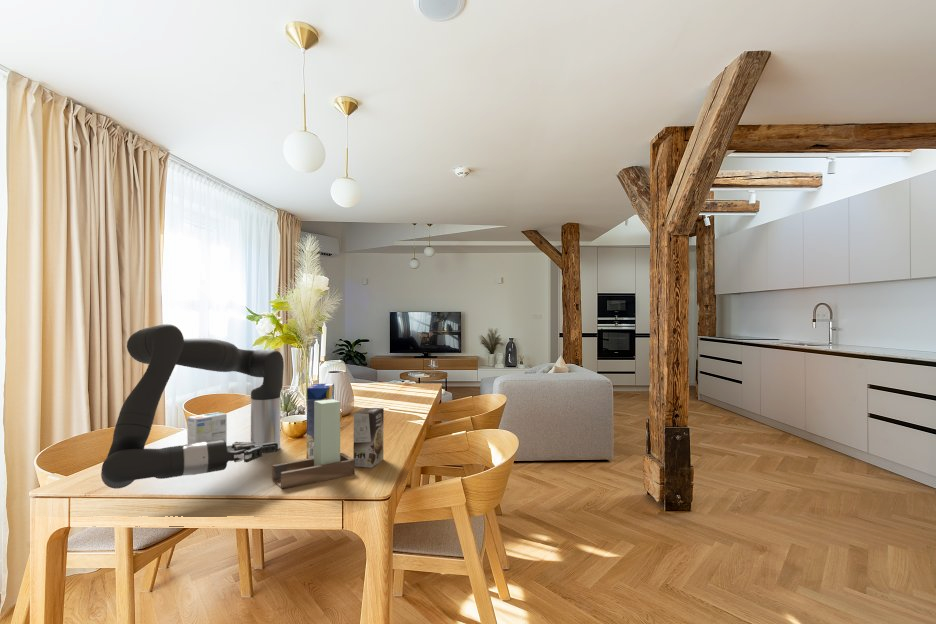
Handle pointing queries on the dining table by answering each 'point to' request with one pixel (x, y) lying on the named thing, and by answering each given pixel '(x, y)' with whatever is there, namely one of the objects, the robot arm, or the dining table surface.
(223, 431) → the light bulb box
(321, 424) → the block
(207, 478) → the dining table surface
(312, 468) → the chute
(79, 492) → the dining table surface
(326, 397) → the beverage box
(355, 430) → the coffee box
